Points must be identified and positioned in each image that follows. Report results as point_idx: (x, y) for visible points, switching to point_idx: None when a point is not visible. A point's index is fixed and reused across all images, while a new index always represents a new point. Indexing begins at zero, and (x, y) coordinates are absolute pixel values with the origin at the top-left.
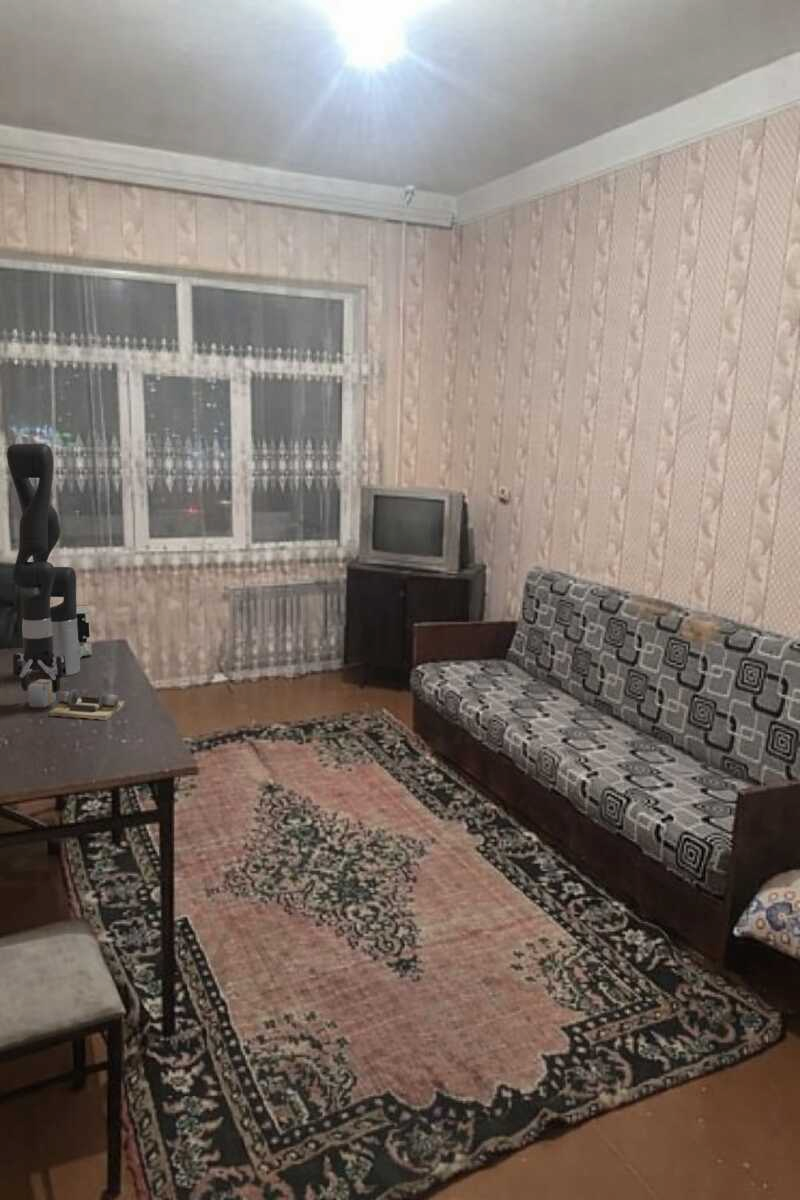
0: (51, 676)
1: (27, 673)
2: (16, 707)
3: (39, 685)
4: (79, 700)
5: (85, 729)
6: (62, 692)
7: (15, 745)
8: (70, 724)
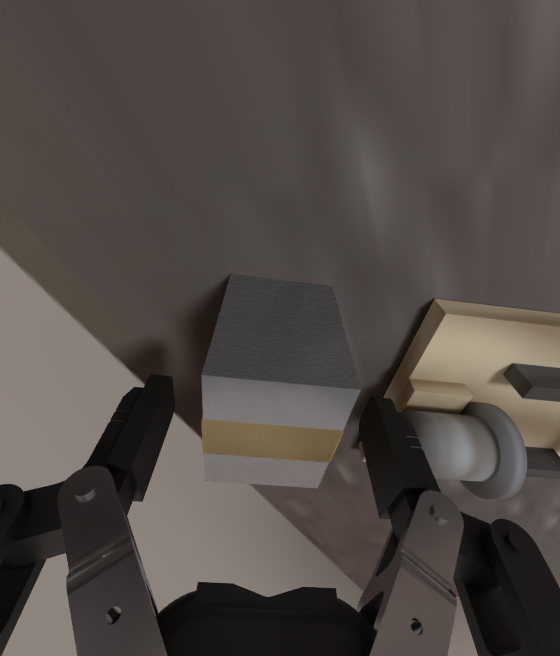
0: (390, 558)
1: (111, 505)
2: (176, 383)
3: (281, 475)
4: (493, 353)
5: (488, 500)
6: (436, 477)
7: (329, 547)
8: (443, 482)
